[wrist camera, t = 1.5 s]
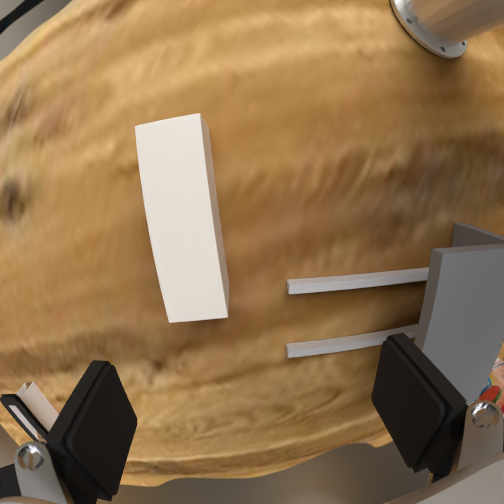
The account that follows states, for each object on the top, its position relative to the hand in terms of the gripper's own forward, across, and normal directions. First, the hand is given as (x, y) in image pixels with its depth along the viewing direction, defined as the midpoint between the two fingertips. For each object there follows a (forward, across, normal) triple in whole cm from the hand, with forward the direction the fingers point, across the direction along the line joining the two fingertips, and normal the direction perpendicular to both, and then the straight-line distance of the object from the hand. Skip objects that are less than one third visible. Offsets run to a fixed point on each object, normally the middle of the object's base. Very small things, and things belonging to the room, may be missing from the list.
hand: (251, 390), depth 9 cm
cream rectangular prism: (+21, +4, -4) cm, 21 cm away
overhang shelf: (+20, -16, +9) cm, 28 cm away
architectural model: (+22, +37, +24) cm, 49 cm away
